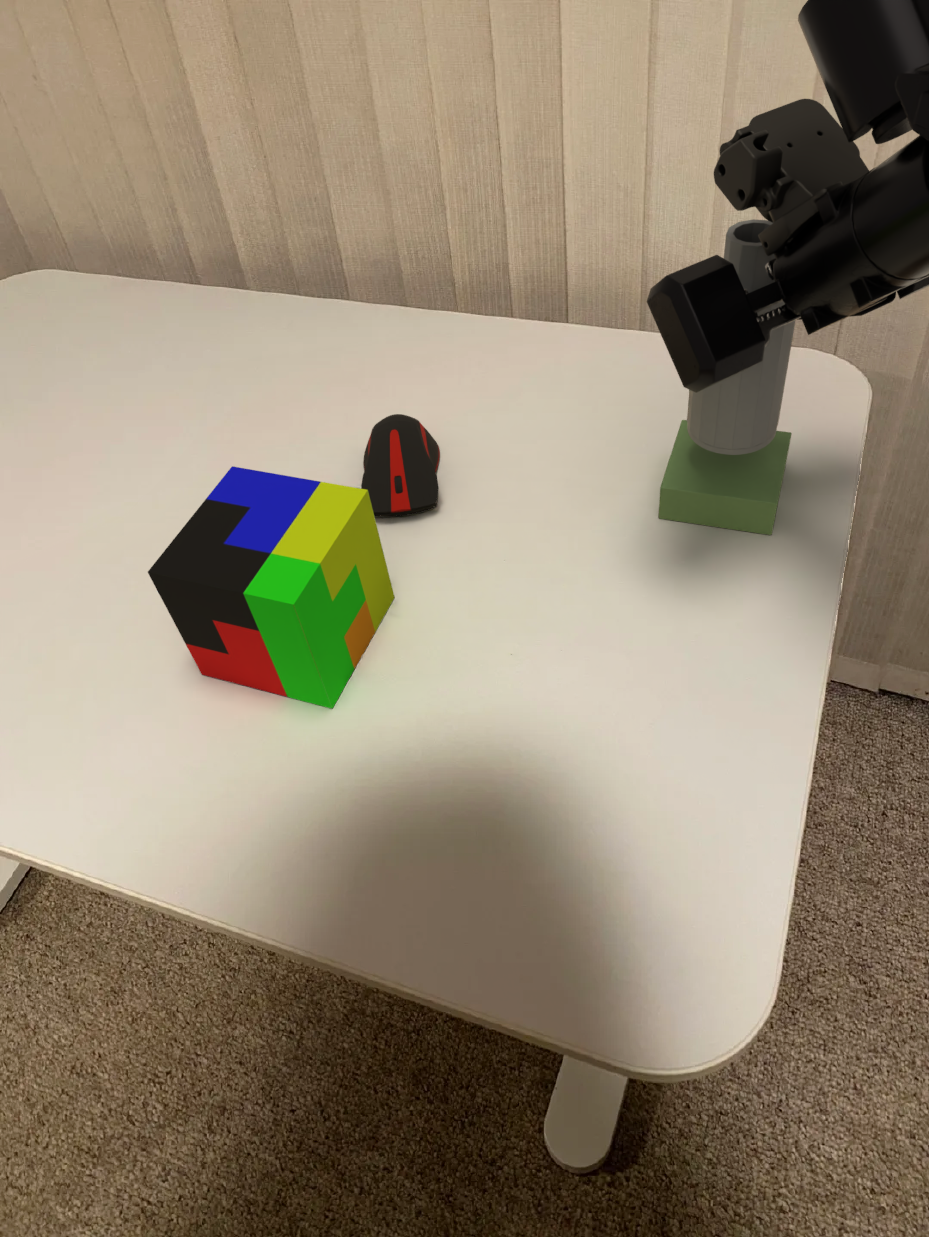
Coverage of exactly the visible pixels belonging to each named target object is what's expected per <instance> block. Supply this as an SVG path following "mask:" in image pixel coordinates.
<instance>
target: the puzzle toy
mask: <svg viewBox="0 0 929 1237" xmlns="http://www.w3.org/2000/svg"><path fill="white" fill-rule="evenodd" d="M387 565H388V564H387V561H386V557H385V553H384V549H383V544H382V542H381V537H380V533H379V530H378V525H377V521H376V516H374V513H373V509H372V505H371V501H370V497H369V493H368V490H366V489H361V487H360V488H359V487H355V486H348V485H343V484H337V483H331V482H326V481H320V480H314V479H307V478H301V477H296V476H291V475H284V474H280V473H274V472H268V471H261V470H256V469H250V468H245V467H238V466H232V465H231V467H230V468H229V469H228V470H227V471H226V473H225V474H224V475H223V477H222V478H221V479H220V480H219V482H218V483H217V484H216V485H215V487H214V488H213V490H211V492H210V493H209V494H208V495H207V497H206V498H205V499H204V500H203V502H202V503H201V504H200V506H198V508H197V509H196V510H195V512H194V513H193V514H192V516H191V517H190V518H189V520H188V521H187V522H186V523H185V524H184V526H183V527H182V528H181V529H180V530H179V532H178V533H177V534H176V536H175V537H174V538H173V539H172V541H170V543H169V544H168V546H167V547H166V548H165V549H164V551H163V552H161V554H160V556H159V557H158V558H157V559H156V560H155V562H154V563H153V565H151V566H150V568H149V569H148V571H147V574H148V576H149V577H150V579H151V581H152V584H153V586H154V588H155V589H156V591H157V593H158V595H159V597H160V599H161V600H162V602H163V604H164V607H165V608H166V610H167V612H168V614H169V616H170V618H171V619H172V622H173V623H174V625H175V627H176V629H177V631H178V632H179V634H180V636H181V638H182V640H183V642H184V644H185V646H186V648H187V649H188V652H189V653H190V655H191V657H192V659H193V661H194V662H195V665H196V666H197V668H198V670H199V672H200V674H201V676H205V677H209V678H212V679H216V680H219V681H224V682H228V683H232V684H234V685H235V684H236V685H240V686H243V687H247V688H251V689H254V690H259V691H263V692H267V693H270V694H274V695H277V696H282V697H286V698H289V699H293V700H298V701H301V702H304V703H309V704H312V705H315V706H316V705H317V706H320V707H323V708H328V709H332V710H333V709H334V707H335V706H336V703H337V701H338V700H339V698H340V696H341V694H342V692H343V691H344V689H345V687H346V686H347V684H348V682H349V680H350V678H351V677H352V675H353V673H354V672H355V670H356V668H357V666H358V664H359V662H360V660H361V659H362V656H364V653H365V652H366V650H367V648H368V646H369V645H370V643H371V641H372V639H373V637H374V636H375V634H376V632H377V630H378V628H379V626H380V625H381V623H382V621H383V619H384V618H385V615H386V614H387V612H388V610H389V608H390V607H391V605H392V603H393V602H394V600H395V598H396V597H395V593H394V589H393V585H392V581H391V577H390V574H389V570H388V566H387Z"/></svg>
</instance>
